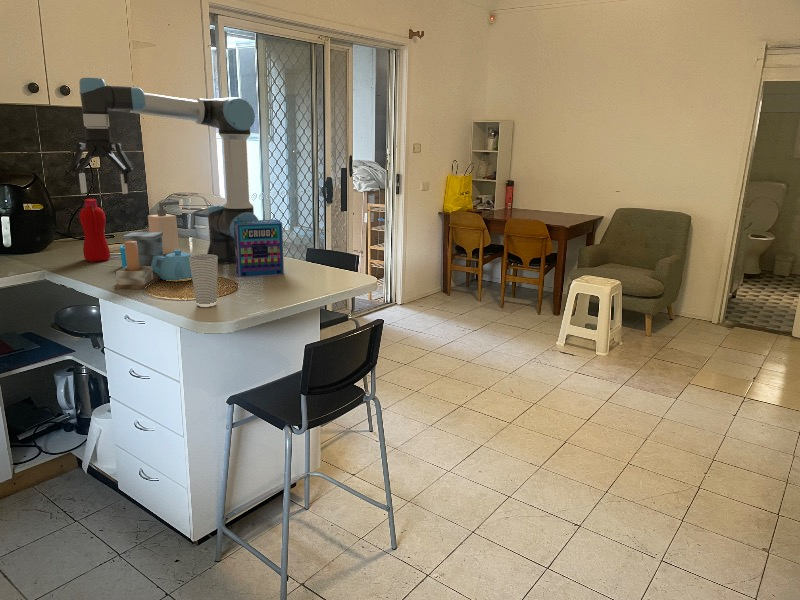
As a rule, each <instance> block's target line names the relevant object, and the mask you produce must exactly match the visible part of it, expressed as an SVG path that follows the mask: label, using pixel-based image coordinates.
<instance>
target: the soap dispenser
mask: <svg viewBox="0 0 800 600" xmlns="http://www.w3.org/2000/svg"><path fill="white" fill-rule="evenodd" d="M174 205H175V206H176V205H177V206H178V205H180V201H179V200H169V201H159V202H158V207H159V209H157V211H156V212H157V214H150V215H147V222H148V232H156V233H163V236H162V246H163V255H167V254H170V253H174V250H180V246H179V235H178V234H179V233H178V222H177V215H174V214H169V213H167V211H166V209H164V207H165V206H166V207H167V206H174Z"/></svg>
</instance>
